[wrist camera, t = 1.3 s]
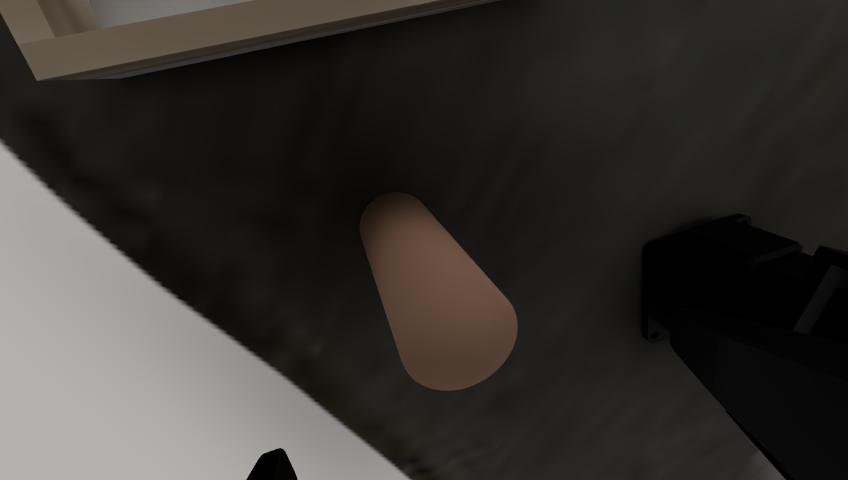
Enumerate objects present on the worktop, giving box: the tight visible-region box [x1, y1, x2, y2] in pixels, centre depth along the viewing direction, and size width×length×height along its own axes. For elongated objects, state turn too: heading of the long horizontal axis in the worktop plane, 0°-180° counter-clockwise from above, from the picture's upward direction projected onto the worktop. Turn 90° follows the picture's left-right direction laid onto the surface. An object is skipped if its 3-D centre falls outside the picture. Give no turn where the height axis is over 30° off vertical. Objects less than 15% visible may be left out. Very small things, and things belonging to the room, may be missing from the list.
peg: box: [359, 192, 518, 391], centre depth 15 cm, size 3×3×9 cm
